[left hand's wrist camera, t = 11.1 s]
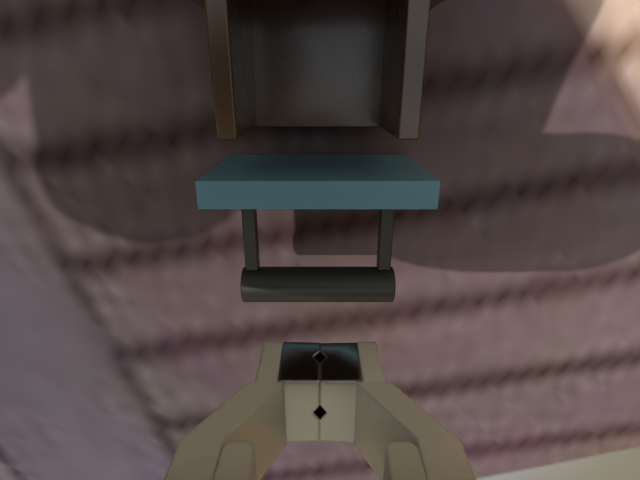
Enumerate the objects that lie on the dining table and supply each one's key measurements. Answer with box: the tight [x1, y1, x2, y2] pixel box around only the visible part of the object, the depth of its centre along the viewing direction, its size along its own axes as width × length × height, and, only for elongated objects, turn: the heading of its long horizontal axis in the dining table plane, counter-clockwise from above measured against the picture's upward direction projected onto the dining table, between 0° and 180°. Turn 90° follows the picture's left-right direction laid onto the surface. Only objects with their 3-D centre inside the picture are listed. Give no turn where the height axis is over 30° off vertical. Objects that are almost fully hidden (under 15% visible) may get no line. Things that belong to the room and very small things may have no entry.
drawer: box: [195, 0, 441, 302], centre depth 17 cm, size 26×10×7 cm, turn 0°
